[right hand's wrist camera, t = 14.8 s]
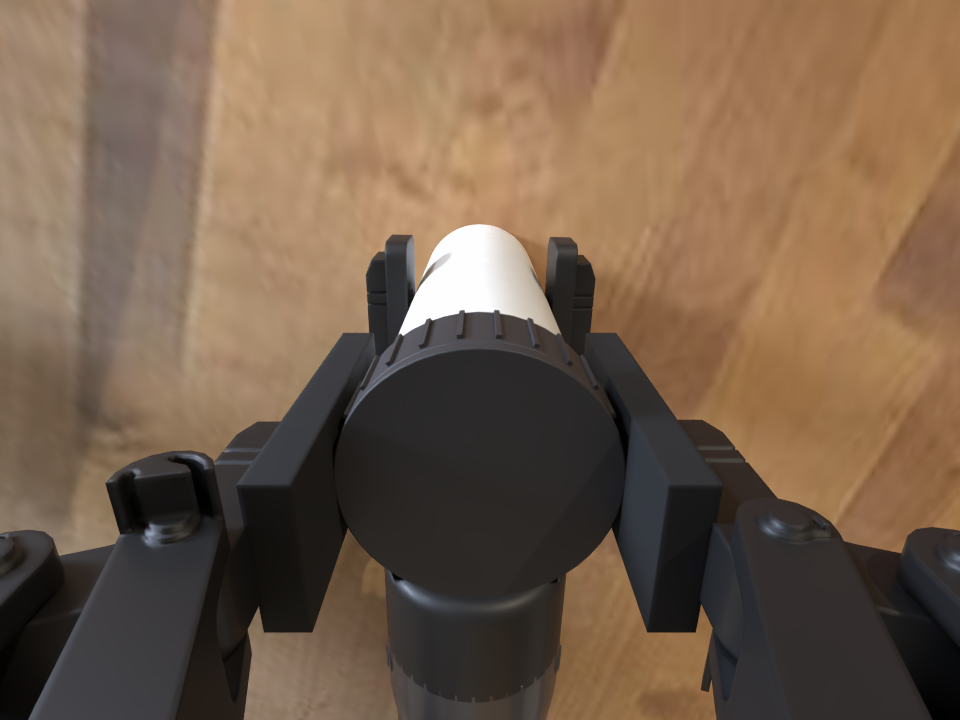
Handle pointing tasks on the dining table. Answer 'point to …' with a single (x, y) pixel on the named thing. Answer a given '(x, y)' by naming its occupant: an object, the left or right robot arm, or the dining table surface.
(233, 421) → the dining table surface
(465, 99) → the dining table surface
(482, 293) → the jar
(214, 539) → the right robot arm
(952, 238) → the dining table surface
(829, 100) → the dining table surface
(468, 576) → the lid
